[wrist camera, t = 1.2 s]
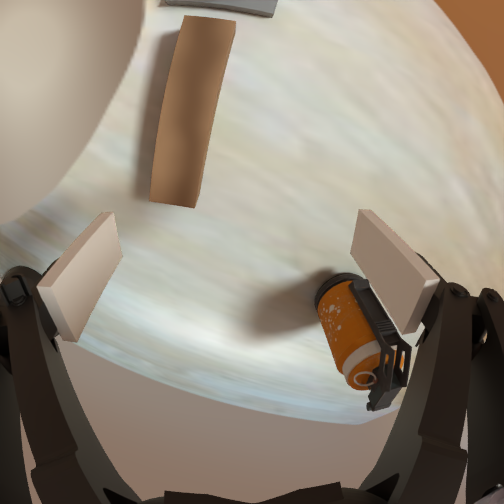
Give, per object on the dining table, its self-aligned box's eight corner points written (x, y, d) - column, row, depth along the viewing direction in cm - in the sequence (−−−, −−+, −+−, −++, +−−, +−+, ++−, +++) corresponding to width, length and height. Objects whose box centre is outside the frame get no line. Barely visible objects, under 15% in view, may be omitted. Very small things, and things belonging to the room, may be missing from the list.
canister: (310, 317, 44) (343, 426, 27) (319, 260, 38) (374, 376, 21) (359, 312, 45) (404, 410, 27) (374, 257, 39) (444, 357, 22)
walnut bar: (160, 187, 32) (149, 201, 28) (191, 27, 22) (184, 15, 18) (199, 193, 33) (194, 208, 28) (235, 33, 23) (235, 21, 19)
